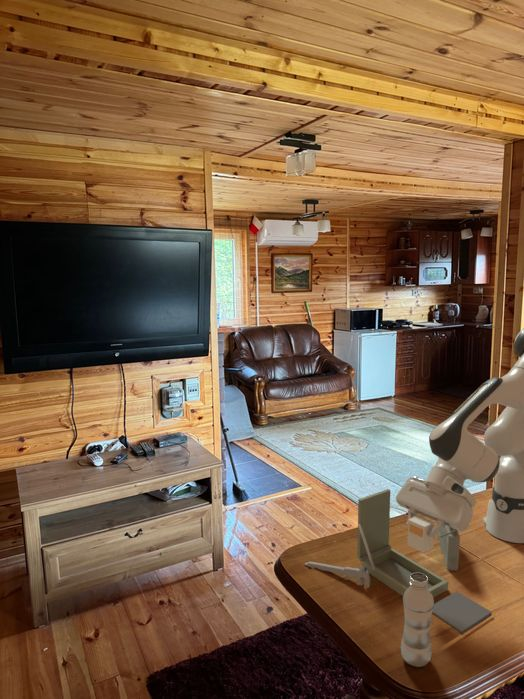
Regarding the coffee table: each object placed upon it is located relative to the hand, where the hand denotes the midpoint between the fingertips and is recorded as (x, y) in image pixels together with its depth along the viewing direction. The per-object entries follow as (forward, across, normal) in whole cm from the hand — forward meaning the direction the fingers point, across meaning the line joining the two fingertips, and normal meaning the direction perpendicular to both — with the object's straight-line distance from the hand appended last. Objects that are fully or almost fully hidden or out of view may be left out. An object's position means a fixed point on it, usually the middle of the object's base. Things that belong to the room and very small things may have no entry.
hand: (419, 531), depth 129 cm
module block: (+3, 0, +4) cm, 4 cm away
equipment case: (+11, -7, +14) cm, 20 cm away
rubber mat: (+11, +11, +15) cm, 21 cm away
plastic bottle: (+27, +13, 0) cm, 30 cm away
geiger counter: (-6, -9, +31) cm, 33 cm away
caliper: (+21, -20, +6) cm, 29 cm away
